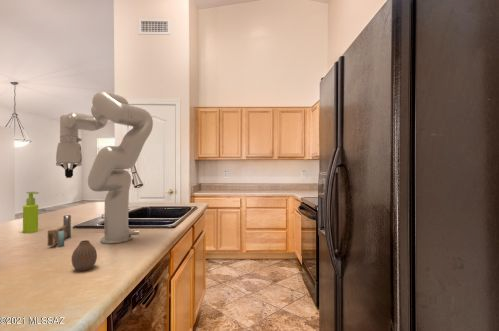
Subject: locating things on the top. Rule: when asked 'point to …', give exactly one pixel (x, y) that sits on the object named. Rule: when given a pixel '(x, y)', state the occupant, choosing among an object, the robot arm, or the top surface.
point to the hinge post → (67, 222)
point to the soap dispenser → (30, 215)
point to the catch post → (60, 238)
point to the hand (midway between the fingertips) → (69, 177)
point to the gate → (56, 235)
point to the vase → (84, 256)
